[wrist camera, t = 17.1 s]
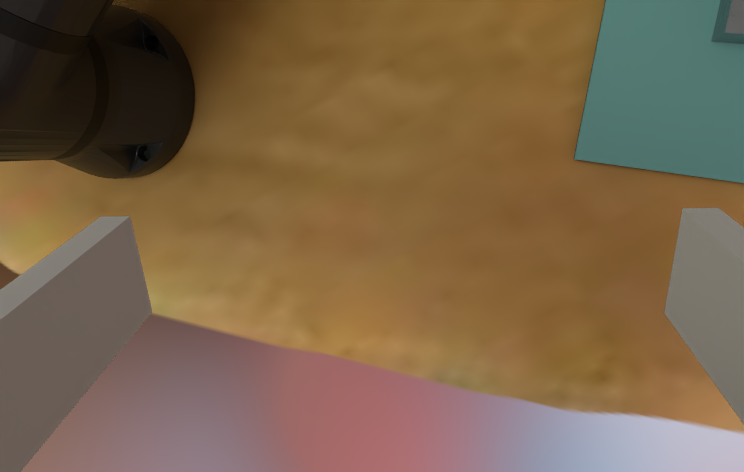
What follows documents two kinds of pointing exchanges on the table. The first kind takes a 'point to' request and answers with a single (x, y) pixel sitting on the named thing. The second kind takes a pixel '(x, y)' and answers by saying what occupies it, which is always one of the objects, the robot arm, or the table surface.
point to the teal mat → (665, 91)
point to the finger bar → (729, 22)
